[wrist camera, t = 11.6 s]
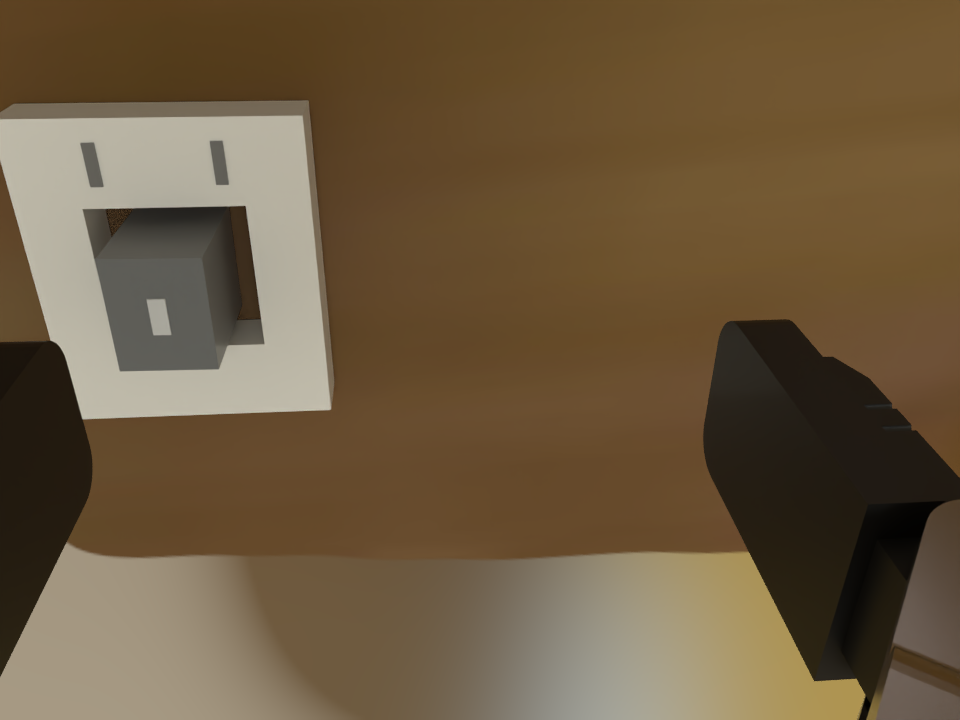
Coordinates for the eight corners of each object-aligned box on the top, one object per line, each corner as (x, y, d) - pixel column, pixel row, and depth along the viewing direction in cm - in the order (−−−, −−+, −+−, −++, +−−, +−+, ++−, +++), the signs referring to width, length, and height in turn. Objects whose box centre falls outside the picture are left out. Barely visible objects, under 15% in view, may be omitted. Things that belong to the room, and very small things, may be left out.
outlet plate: (14, 103, 35) (-13, 119, 33) (308, 100, 36) (302, 116, 34) (89, 391, 42) (71, 420, 40) (334, 382, 43) (330, 410, 41)
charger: (136, 204, 38) (94, 260, 33) (228, 204, 38) (201, 259, 33) (155, 306, 40) (119, 372, 35) (242, 304, 41) (218, 370, 35)
